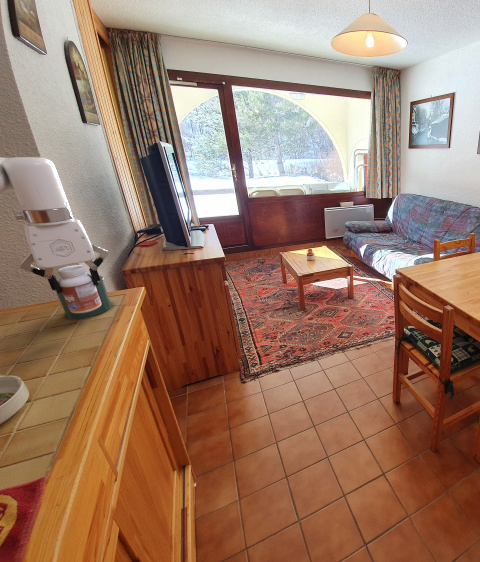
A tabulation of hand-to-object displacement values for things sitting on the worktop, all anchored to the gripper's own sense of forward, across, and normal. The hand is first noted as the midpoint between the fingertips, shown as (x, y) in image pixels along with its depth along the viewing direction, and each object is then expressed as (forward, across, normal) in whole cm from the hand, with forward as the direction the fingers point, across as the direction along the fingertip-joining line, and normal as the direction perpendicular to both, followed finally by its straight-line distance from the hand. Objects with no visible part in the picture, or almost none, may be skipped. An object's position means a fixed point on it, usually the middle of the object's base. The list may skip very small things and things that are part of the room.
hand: (78, 287), depth 77 cm
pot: (+12, 0, +12) cm, 17 cm away
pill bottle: (+6, 0, 0) cm, 6 cm away
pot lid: (+3, 0, +12) cm, 13 cm away
